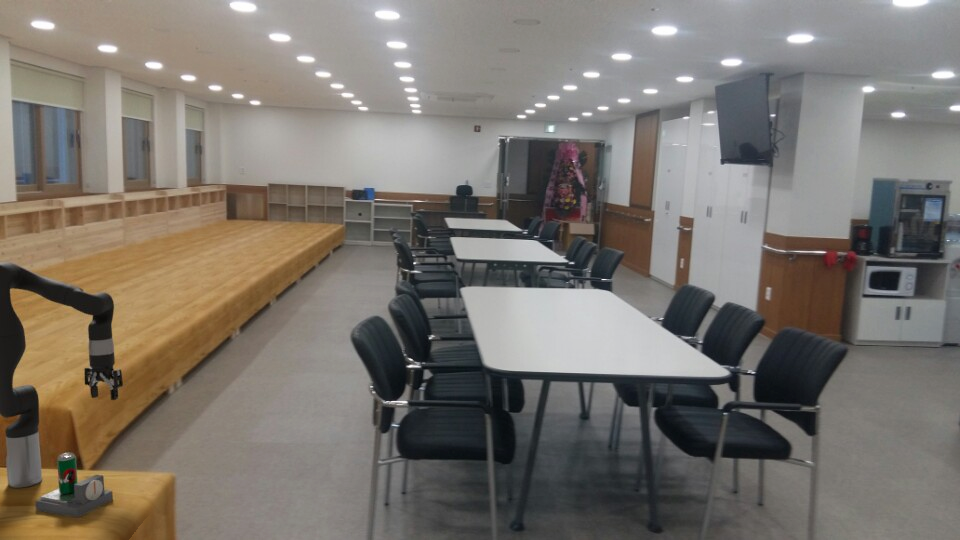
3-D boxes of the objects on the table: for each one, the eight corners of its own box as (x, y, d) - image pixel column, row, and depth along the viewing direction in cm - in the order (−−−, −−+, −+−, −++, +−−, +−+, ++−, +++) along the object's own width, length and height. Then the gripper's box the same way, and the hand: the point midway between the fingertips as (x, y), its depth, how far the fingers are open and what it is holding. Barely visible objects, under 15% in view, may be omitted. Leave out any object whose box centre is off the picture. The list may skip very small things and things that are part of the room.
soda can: (81, 488, 221) (79, 452, 220) (70, 495, 216) (68, 458, 215) (66, 488, 222) (64, 451, 220) (55, 494, 217) (52, 457, 215)
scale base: (35, 510, 215) (33, 482, 214) (72, 493, 227) (70, 466, 226) (78, 518, 210) (76, 489, 209) (113, 500, 222) (112, 473, 221)
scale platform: (40, 499, 215) (40, 496, 215) (71, 485, 226) (71, 482, 226) (67, 504, 212) (67, 501, 212) (97, 490, 222) (97, 487, 222)
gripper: (75, 352, 234) (79, 399, 235) (108, 355, 229) (111, 403, 231) (94, 348, 241) (97, 393, 242) (126, 350, 236) (129, 397, 238)
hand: (104, 398), depth 237 cm, fingers open, 8 cm apart
